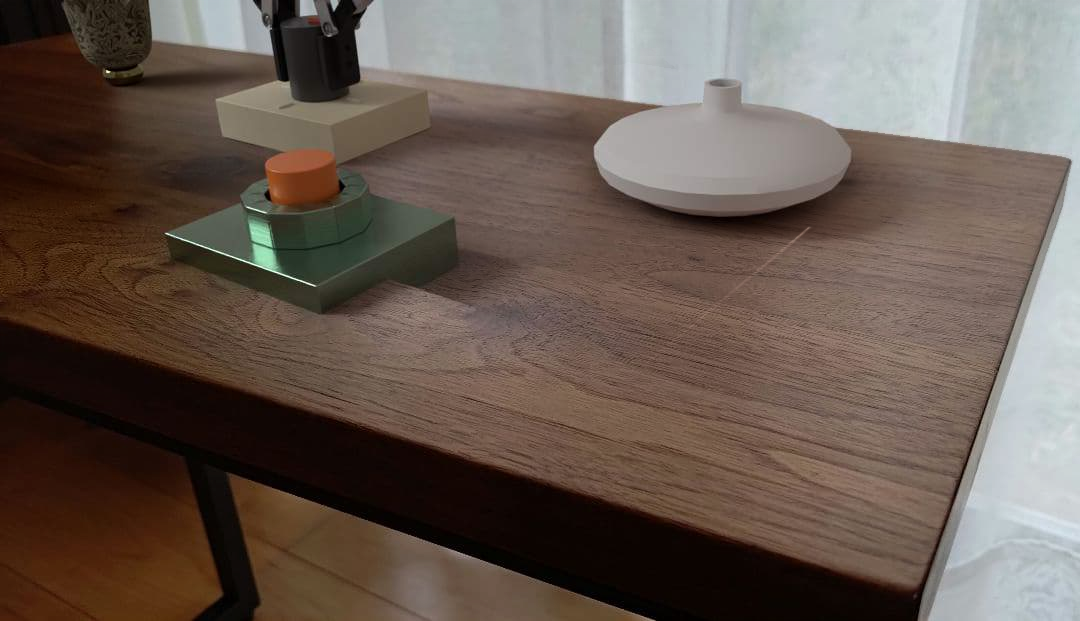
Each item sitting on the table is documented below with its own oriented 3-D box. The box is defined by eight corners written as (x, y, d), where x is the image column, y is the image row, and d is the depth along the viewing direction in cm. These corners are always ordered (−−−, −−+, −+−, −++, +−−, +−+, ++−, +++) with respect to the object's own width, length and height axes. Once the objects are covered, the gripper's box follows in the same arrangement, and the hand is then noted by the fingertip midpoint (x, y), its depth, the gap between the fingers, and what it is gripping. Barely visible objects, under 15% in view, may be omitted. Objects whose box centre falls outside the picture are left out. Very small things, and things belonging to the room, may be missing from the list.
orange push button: (257, 201, 53) (250, 164, 52) (308, 180, 55) (303, 144, 54) (302, 214, 51) (296, 176, 50) (354, 192, 53) (349, 155, 52)
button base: (176, 282, 55) (155, 197, 52) (313, 221, 62) (301, 144, 59) (325, 341, 48) (309, 247, 46) (459, 266, 55) (452, 181, 53)
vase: (772, 267, 53) (781, 141, 50) (543, 206, 62) (538, 95, 59) (887, 179, 64) (901, 70, 61) (678, 138, 73) (680, 41, 70)
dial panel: (222, 136, 78) (214, 97, 76) (318, 104, 85) (312, 67, 83) (336, 165, 71) (330, 122, 69) (431, 127, 78) (427, 87, 76)
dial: (279, 97, 76) (266, 19, 73) (322, 83, 79) (312, 8, 76) (318, 105, 74) (307, 25, 71) (361, 90, 77) (352, 13, 74)
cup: (92, 75, 97) (70, -10, 93) (170, 68, 98) (152, -16, 94) (75, 95, 90) (52, 5, 87) (160, 88, 92) (140, -1, 88)
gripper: (158, -180, 69) (209, 80, 78) (324, -184, 60) (362, 110, 69) (244, -185, 75) (283, 58, 83) (409, -190, 66) (434, 84, 74)
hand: (319, 79), depth 76 cm, fingers closed on dial, 4 cm apart
